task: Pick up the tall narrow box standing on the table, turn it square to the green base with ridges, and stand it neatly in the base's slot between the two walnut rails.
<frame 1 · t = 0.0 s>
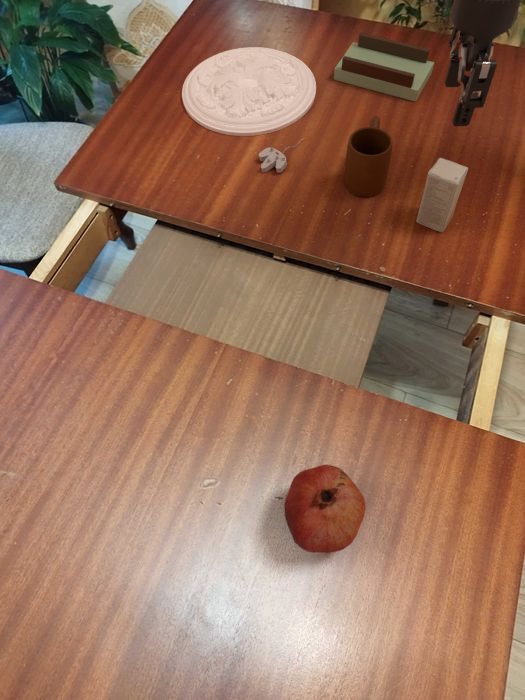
hand: (455, 104, 77), 21 cm above the table, tool pointing down, fingers open, 8 cm apart
mug: (365, 175, 100), on the table
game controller: (285, 157, 103), on the table
ceiling medallion: (249, 91, 114), on the table
fruit: (321, 516, 70), on the table
box: (432, 220, 94), on the table
green base with ridges: (382, 76, 114), on the table
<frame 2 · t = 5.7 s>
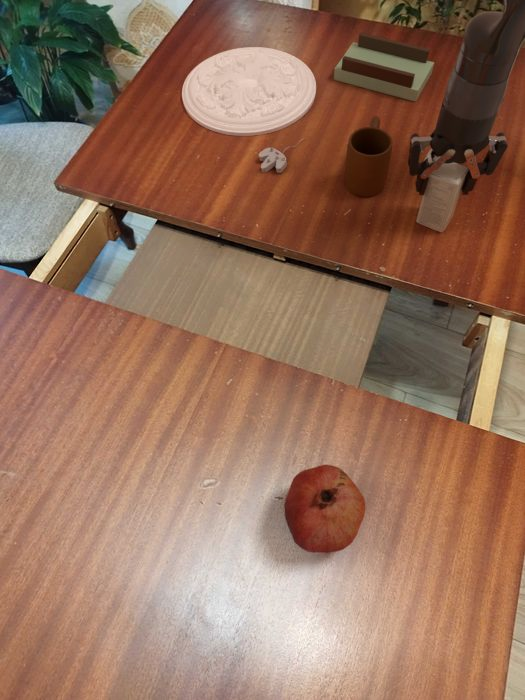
hand: (442, 191, 88), 7 cm above the table, tool pointing down, fingers closed on box, 6 cm apart
box: (433, 220, 94), on the table, touching gripper
everything else where it was.
when the fingers open (9 cm above the table, at t = 15.6 s): box stays where it is, resting on green base with ridges.
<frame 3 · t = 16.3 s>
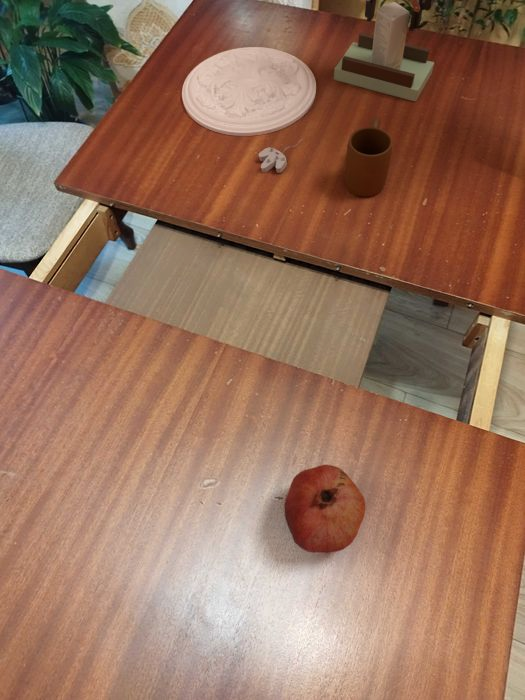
hand: (390, 24, 104), 11 cm above the table, tool pointing down, fingers open, 8 cm apart
box: (385, 66, 112), point 2 cm above the table, touching green base with ridges
everything else where it was.
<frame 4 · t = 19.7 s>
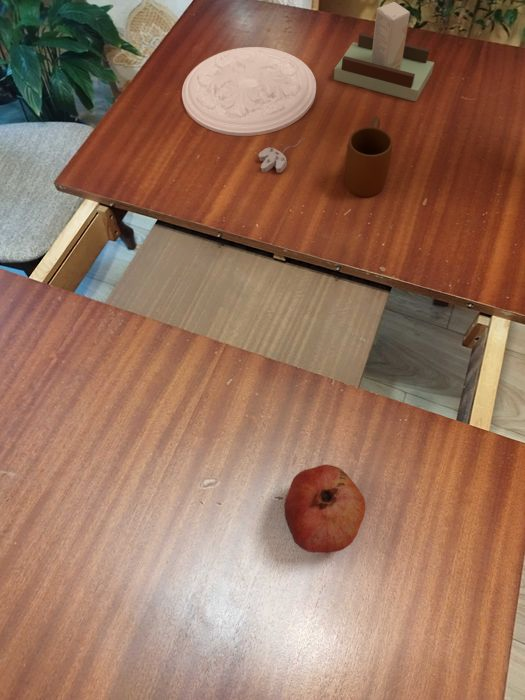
nothing on the table moved.
at the end: box 0.2 cm off-centre on the green base with ridges, point 2.3 cm above the green base with ridges's base; box tilted 0°; the gripper is holding nothing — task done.
